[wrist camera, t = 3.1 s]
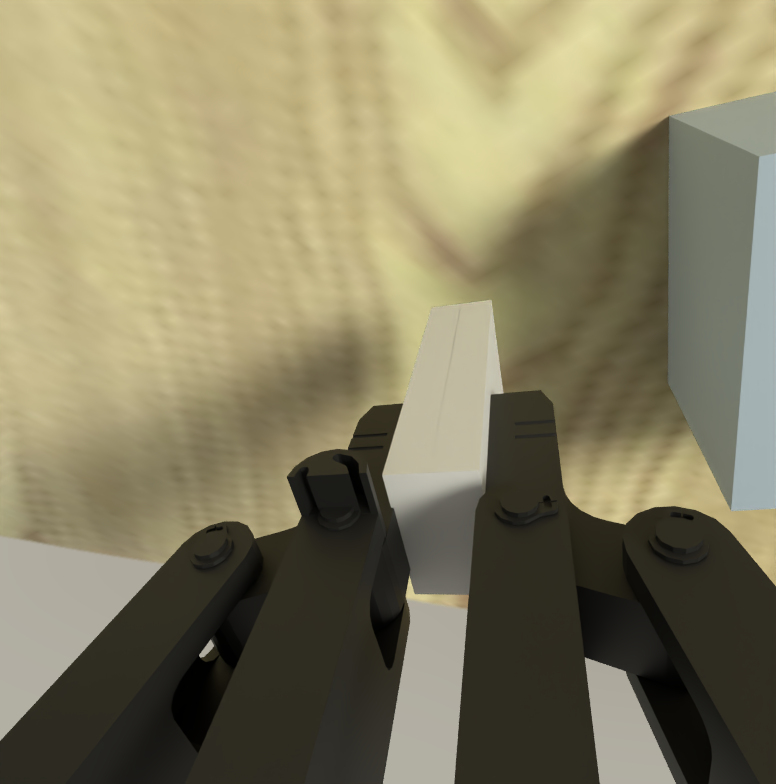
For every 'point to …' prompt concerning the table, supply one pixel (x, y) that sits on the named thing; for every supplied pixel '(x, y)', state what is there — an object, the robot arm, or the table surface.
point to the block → (726, 291)
